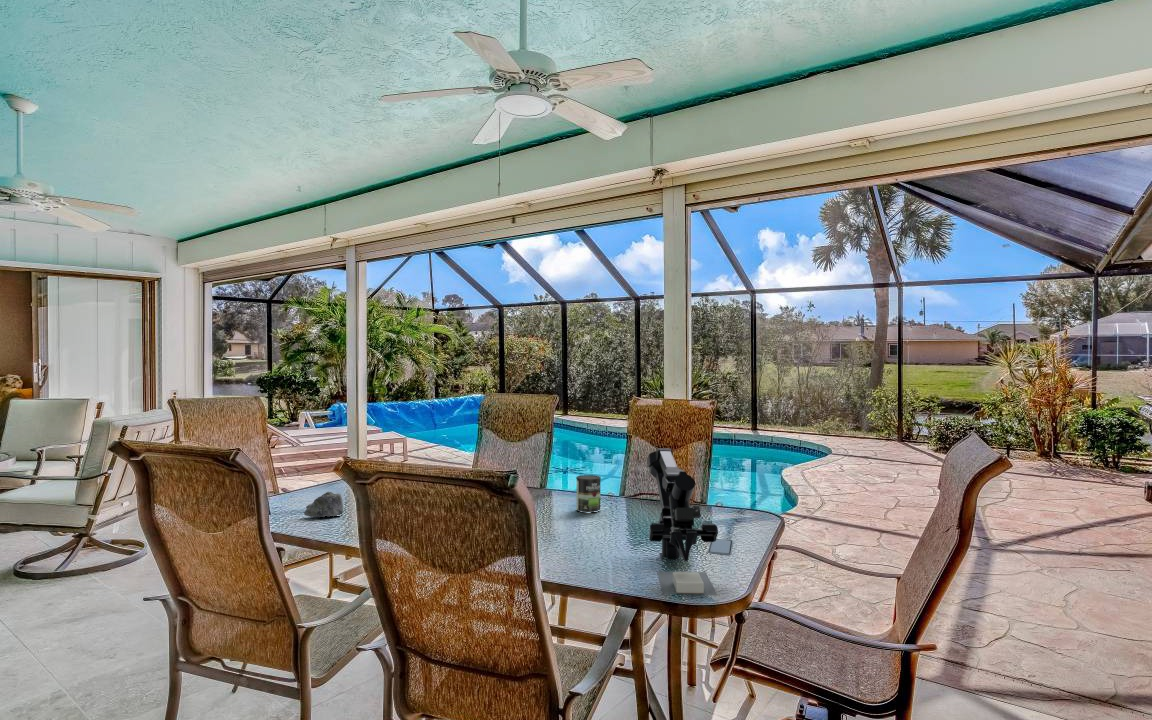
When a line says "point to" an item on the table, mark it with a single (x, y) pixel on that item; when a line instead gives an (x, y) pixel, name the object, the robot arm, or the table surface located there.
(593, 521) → the table surface
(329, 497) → the mineral rock
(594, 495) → the coffee can
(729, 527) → the table surface
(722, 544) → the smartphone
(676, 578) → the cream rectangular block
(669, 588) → the mat
